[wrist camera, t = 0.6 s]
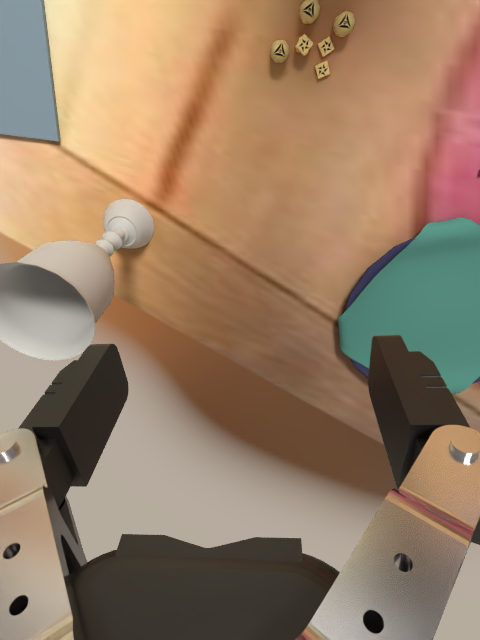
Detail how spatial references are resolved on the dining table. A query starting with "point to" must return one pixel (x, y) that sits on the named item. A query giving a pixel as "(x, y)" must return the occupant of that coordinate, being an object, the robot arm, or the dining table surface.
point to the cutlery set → (422, 302)
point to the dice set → (308, 16)
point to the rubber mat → (26, 72)
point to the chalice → (66, 286)
